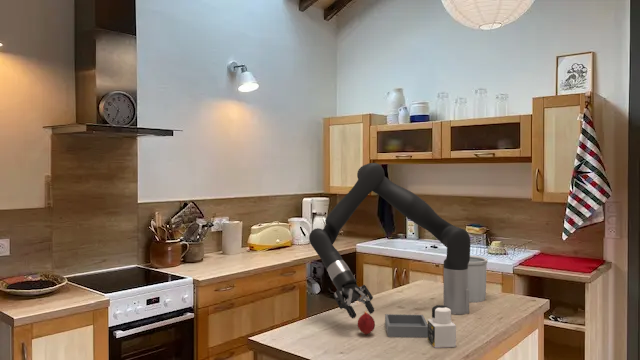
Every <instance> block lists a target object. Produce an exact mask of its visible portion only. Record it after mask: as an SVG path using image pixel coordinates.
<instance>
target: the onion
mask: <svg viewBox="0 0 640 360" xmlns="http://www.w3.org/2000/svg"><path fill="white" fill-rule="evenodd" d="M375 326H376V323H375V319H374V317H372V316H371V314H370V313H369V312H367V311H366V310H364V311H363V314H362V315H360V317H359V318H358V319H357V327H358V329H359V331H360V332H362V333H363V335H364V336H367V335H369V334H370V333H372V332H373V331H374V329H375Z"/></svg>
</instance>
